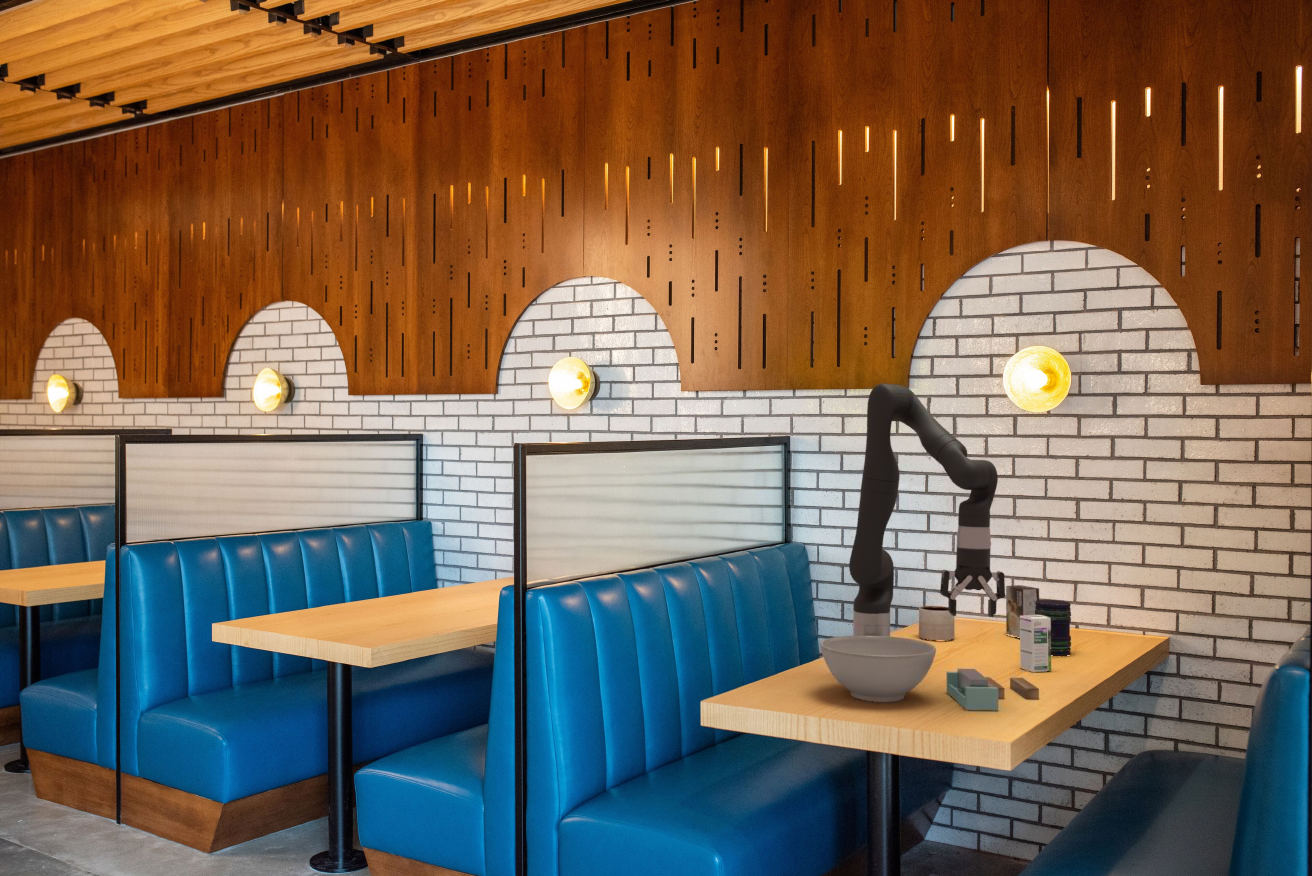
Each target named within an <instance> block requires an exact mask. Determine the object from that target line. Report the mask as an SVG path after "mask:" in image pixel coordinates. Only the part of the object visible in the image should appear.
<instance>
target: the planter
mask: <svg viewBox="0 0 1312 876" xmlns="http://www.w3.org/2000/svg"><path fill="white" fill-rule="evenodd" d="M955 635H956V634H955V616H952V615H951V613H950V612H949V611H948V606H941V605H940V606H939V605H922V606H920V607H918V637H919V638H920V639H921V638H922V639H921V640H923V639H928V640H951V639H953V640H954V639H955V637H956V636H955ZM951 641H952V640H951Z"/></svg>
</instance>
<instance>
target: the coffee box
mask: <svg viewBox="0 0 1312 876" xmlns="http://www.w3.org/2000/svg"><path fill="white" fill-rule="evenodd" d="M1005 599H1006V600H1005V601H1006V602H1005V605H1006V606H1005V607H1006V609H1005V611H1006V613H1005V615H1006V616H1005V617H1006V623H1005V624H1006V625H1005V626H1006V627H1005V629H1006V633H1005V634H1009V635H1013V636H1017V637H1020V616H1026V615H1036V614H1035V610H1036V609H1035V606H1036V604H1035V601H1037V600H1040V588H1037V587H1034V586H1033V587H1032V586H1027V585H1019V584H1017V585H1005Z"/></svg>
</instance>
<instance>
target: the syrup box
mask: <svg viewBox="0 0 1312 876" xmlns="http://www.w3.org/2000/svg"><path fill="white" fill-rule="evenodd" d="M1019 657H1020V658H1019V659H1020V660H1019V661H1020V669H1021V668H1022V670H1023V669H1025V670H1024V671H1026V670H1028V671H1027V672H1029V671H1031V672H1030V673H1033V672H1035V673H1042V672H1043V673H1045V672H1047V671H1051V672H1052V657H1051V618H1050V617H1047V616H1044V615H1026V616H1020V639H1019ZM1047 673H1048V672H1047Z"/></svg>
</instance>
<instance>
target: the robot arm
mask: <svg viewBox="0 0 1312 876" xmlns="http://www.w3.org/2000/svg"><path fill="white" fill-rule="evenodd" d="M866 412H867V413H866V443H865V454H864V464H863V472H862V478H861V484H860V485H861V486H860V495H859V496H860V497H859V504H858V505H859V506H858V513H857V522H856V523H857V524H856V531H855V535H854V540H853V545H852V548H851V553H850V558H849V565H848V566H849V567H848V570H849V573H850V576H851V578H852V580H853V581H854V582H855V583H857V584H858V585H859V586H858V587H859V588H858V591H857V592H858V593H857V595H856V597H854V599H853V607H852V608H853V619H852V620H853V621H852V623H853V624H852V625H853V632H852V633H853V634H852V636H861V635H867V636H890V637H891V605H892V602H893V598H894V585H895V584H894V581H895V568H894V567H895V566H894V562H893V558H892V556H891V554H890V553H889V552H887V551H886V550H885V549H883V545H884V537H885V531H886V530H887V529H886V528H887V526H888V523H889V521H890V518H891V516H892V514H893V511H894V509H895V506H896V504H897V500H898V494H899V488H900V487H899V486H900V477H901V476H900V469H899V465H898V462H897V459H896V455H895V453H894V450H893V447H892V444H891V443H892V442H891V432H892V424H893V423H892V422H900V423H902V424H904V425H905V426H907V427H909V428H910V429H912V430H913V431H914V432H915V434H916V435H917V436H918V439H919V441H920V444H921V446H922V447H923V449H924V450H925V451H926V453H927V454H928V455H930V457H931V458H932V459H934V460H935V461H936V462H937V463H938V464H939V465H941V466H942V468H943V470H944V471H945V473H946V474H947V476H948V477H949V479H950V481H951V482H952V483H953V484H954V485H955V486H956V487H958V488H960V489H961V490H965V491H970V493H969V497H968V498H967V499H965V500H963V501H961V502H960V503H959V505H958V519H957V520H958V522H957V523H958V526H957V533H956V553H955V555H956V556H955V557H956V559H955V562H956V564H955V570H947V569H943V570H942V571H941V578H940V579H941V580H940V591H939V593H940V595H941V596H943V597H945V598H947V599H948V601H947V602H948V606H947V607H948V611H949V612H950V613H951V615H952V616H954V617H956V616H957V599H956V598H957V597H958V596H959V594H961V593H962V592H963V590H967V591H972V590H975V591H981V590H983V592H984V593H985V594H986V595H987V597H988V598H989V599H987V601H988V602H987V606H988V607H987V616H988V617H989V618H994V615H996V614H997V601H998V600H1001V599H1005V598H1006V585H1005V573H1004V572H1003V571H1000V570H998V571H996V572H994V571H993V572H992V571H991V549H992V548H991V547H992V541H991V540H992V537H991V507H992V505H993V501H994V498H995V494H996V490H997V485H998V480H999V479H998V478H999V477H998V471H997V468H996V466H995V464H993V463H992V462H991V461H990V460H986V459H971V458H968V450H967V448H966V446H965V445H964V444H963V443H962V442H961V441H960V440H959V439H957V438H956V437H955V436H954V435H953V434H952V433H951V432H950V431H948V430H947V429H946V428H945V427H944V426H943V425H941V423H939V422H938V421H937V419H935V418H934V416H933V415H932V414H931V413H930V412H929V410H928V409H927V408H926V407H925V406H924V404H923V403H922V401H921V400H920V399H919V398H918V396H917V395H916V394H915V393H914V392H913V390H911V389H910V388H908V387H906V386H904V385H901V384H900V385H899V384H890V383H878V384H876V385H875V386H874V387H873V388H872V389H871V391H870V393H869V395H868V399H867V408H866ZM953 577H955V578H954V579H956V582H955V584H954V585H953V586H952V589H951V590H950V591H949V586H950V585H949V584H950V581H952V579H953ZM992 578H993V580H994V581H995V583H996V584H995V585H996V593H995V592H994V591H993V589H992V588H991V587H990V585H989V584H988V583H989V582H990V580H991V579H992Z"/></svg>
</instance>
